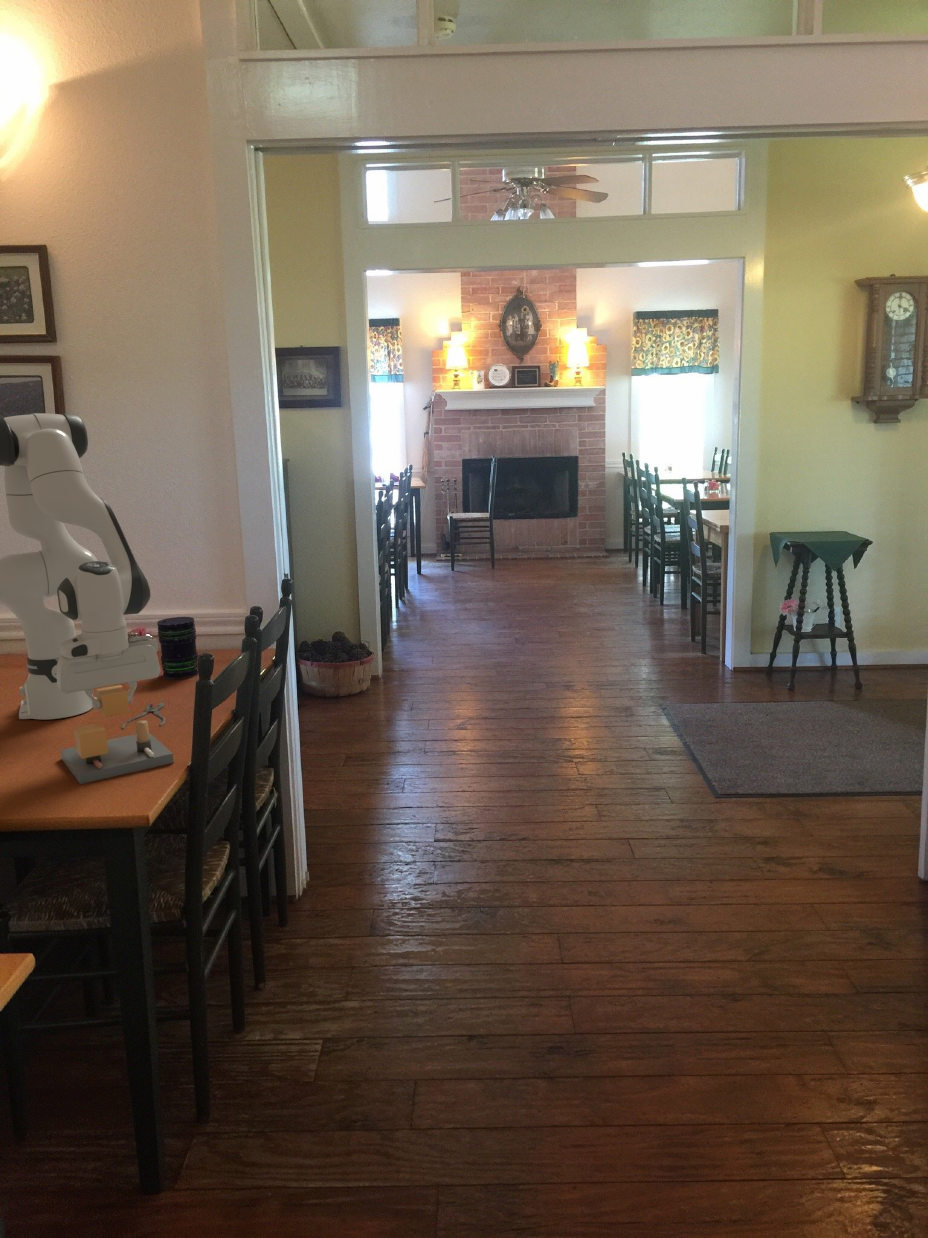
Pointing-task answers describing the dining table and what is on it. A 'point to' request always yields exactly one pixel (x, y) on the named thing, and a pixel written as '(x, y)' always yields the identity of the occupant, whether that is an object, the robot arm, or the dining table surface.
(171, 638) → the storage jar
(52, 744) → the dining table surface
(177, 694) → the dining table surface
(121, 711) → the tan wooden toy brick
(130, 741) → the board
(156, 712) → the pliers
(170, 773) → the dining table surface
